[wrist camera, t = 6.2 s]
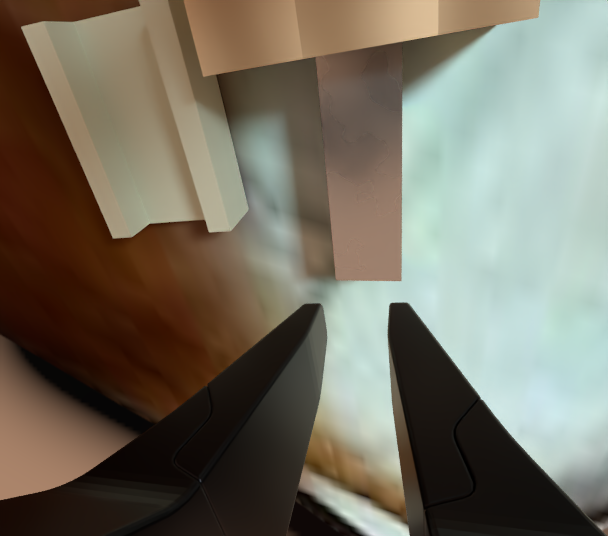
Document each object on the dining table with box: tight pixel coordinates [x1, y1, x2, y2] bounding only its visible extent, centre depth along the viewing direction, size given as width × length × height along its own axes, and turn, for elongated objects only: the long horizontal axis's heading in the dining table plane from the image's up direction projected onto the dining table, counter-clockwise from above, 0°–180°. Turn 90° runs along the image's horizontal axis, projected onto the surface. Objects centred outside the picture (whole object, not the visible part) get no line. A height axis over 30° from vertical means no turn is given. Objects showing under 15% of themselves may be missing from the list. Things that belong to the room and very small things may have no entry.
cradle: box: [21, 0, 249, 238], centre depth 19 cm, size 7×10×3 cm
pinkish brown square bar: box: [316, 42, 402, 281], centre depth 16 cm, size 18×3×3 cm, turn 7°
